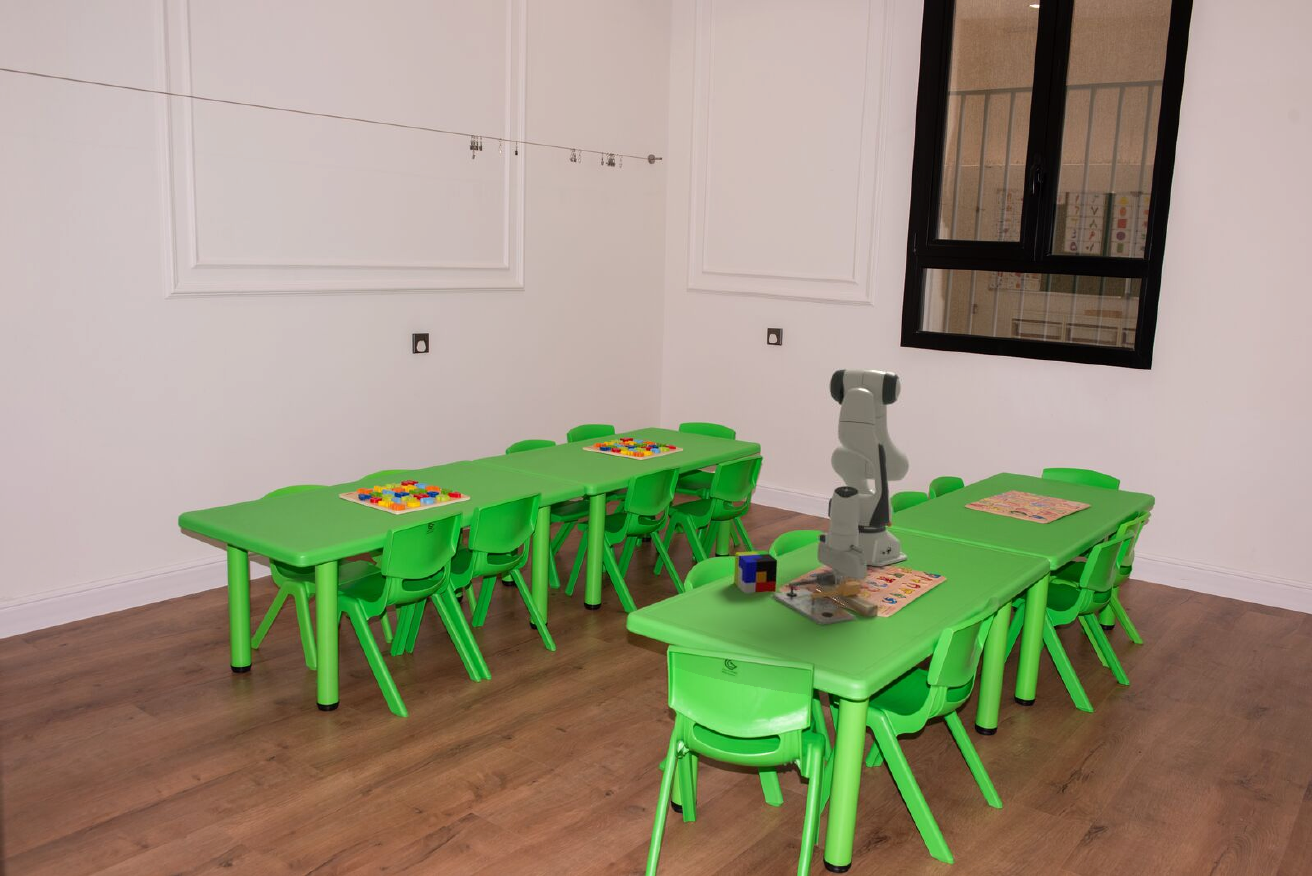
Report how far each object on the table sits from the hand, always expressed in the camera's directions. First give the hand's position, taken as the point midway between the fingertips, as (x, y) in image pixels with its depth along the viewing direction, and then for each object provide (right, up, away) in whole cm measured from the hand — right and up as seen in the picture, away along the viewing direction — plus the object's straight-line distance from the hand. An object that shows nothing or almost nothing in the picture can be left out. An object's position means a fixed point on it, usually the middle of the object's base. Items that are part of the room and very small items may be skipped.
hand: (840, 585), depth 315 cm
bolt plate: (-9, -6, -7) cm, 13 cm away
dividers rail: (-4, -5, -4) cm, 7 cm away
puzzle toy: (-25, -2, +10) cm, 27 cm away
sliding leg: (-3, -4, -6) cm, 7 cm away
